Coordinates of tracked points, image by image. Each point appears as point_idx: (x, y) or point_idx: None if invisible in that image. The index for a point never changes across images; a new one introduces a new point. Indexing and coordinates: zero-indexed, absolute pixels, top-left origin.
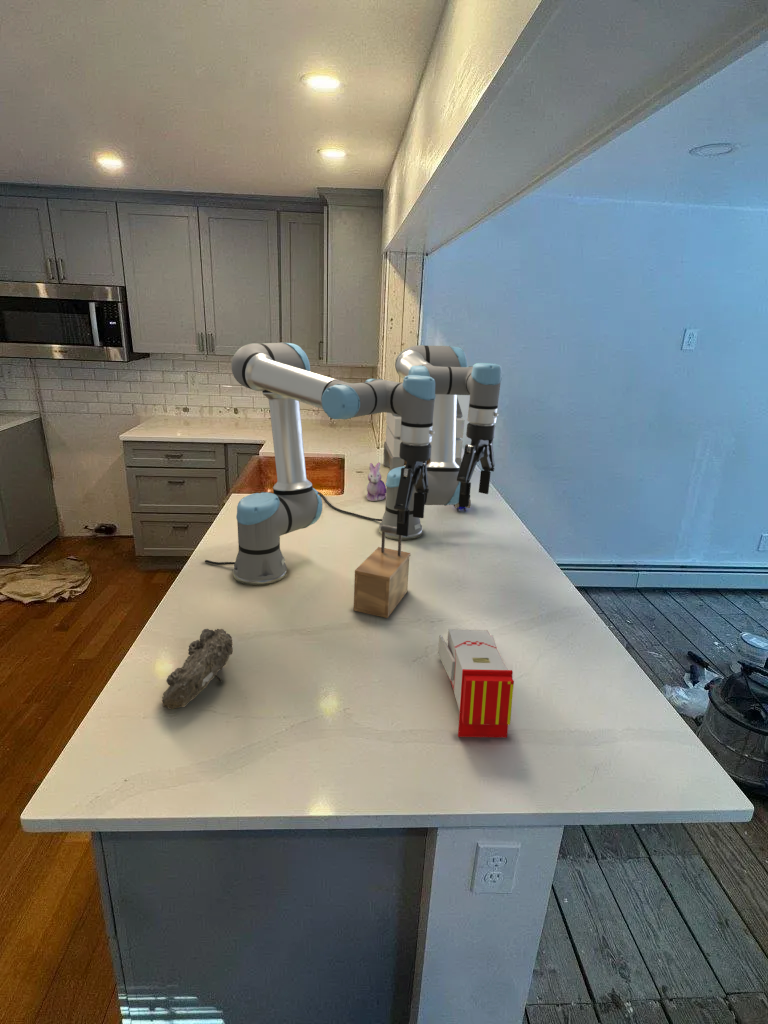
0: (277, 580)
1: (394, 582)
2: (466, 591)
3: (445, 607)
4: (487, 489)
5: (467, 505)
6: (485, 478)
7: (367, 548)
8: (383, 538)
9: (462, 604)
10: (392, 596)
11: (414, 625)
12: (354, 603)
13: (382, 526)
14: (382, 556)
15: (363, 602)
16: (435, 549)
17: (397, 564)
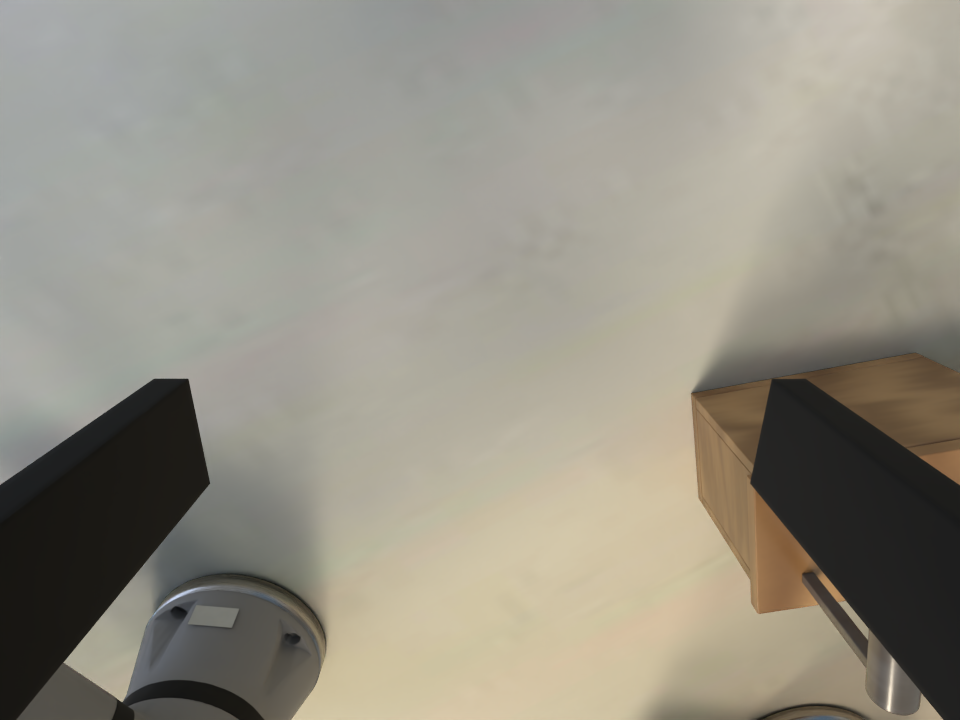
0: (829, 709)
1: (950, 414)
2: (562, 205)
3: (741, 216)
4: (153, 411)
5: (810, 386)
6: (51, 560)
7: (451, 650)
8: (861, 633)
9: (682, 168)
10: (922, 387)
11: (928, 250)
12: None
13: (919, 702)
14: None
15: None
16: (280, 478)
17: None
